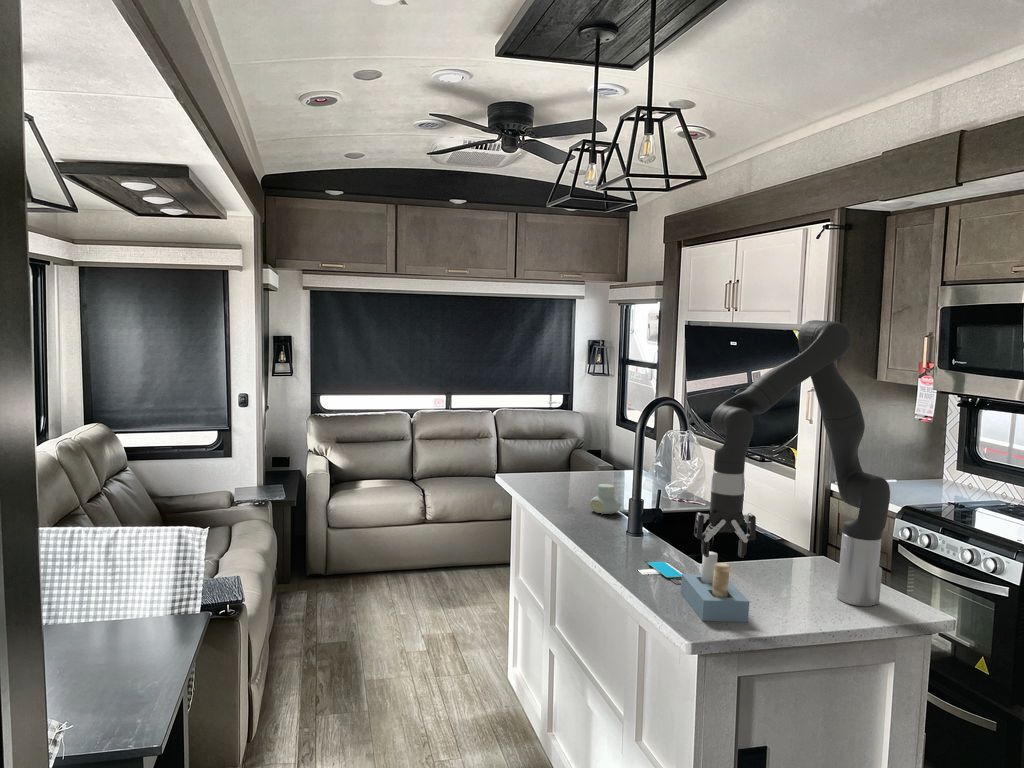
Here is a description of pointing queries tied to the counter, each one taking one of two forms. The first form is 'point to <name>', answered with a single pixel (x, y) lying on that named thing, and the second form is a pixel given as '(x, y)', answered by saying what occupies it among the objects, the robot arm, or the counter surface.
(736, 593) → the bore block
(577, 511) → the counter surface
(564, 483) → the counter surface
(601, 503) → the pale green pipe fitting
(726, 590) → the beech pin
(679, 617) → the counter surface
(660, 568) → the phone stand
